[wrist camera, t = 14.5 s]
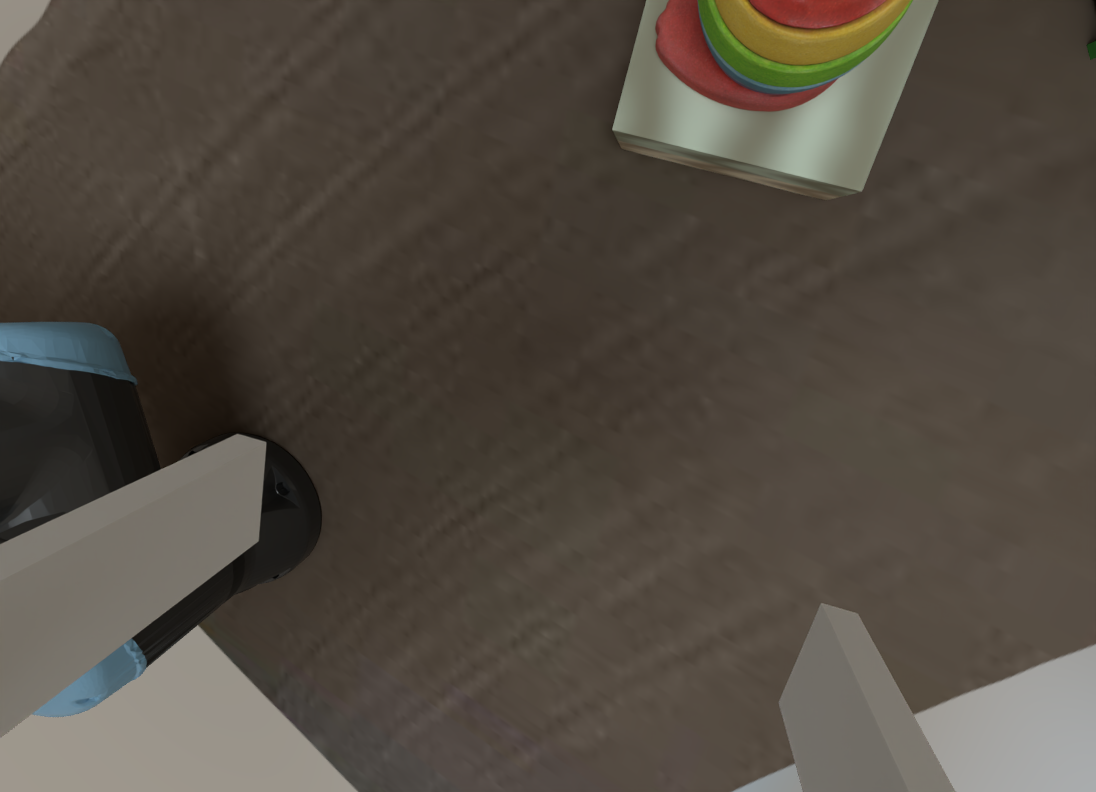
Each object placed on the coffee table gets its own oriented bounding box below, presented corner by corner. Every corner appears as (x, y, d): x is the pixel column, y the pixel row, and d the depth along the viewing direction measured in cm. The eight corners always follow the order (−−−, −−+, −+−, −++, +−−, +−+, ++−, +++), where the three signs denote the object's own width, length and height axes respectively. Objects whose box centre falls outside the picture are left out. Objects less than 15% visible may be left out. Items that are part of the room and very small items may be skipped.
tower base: (621, 149, 43) (612, 129, 35) (686, -90, 38) (691, -171, 30) (825, 200, 41) (861, 191, 33) (919, -43, 36) (985, -118, 29)
